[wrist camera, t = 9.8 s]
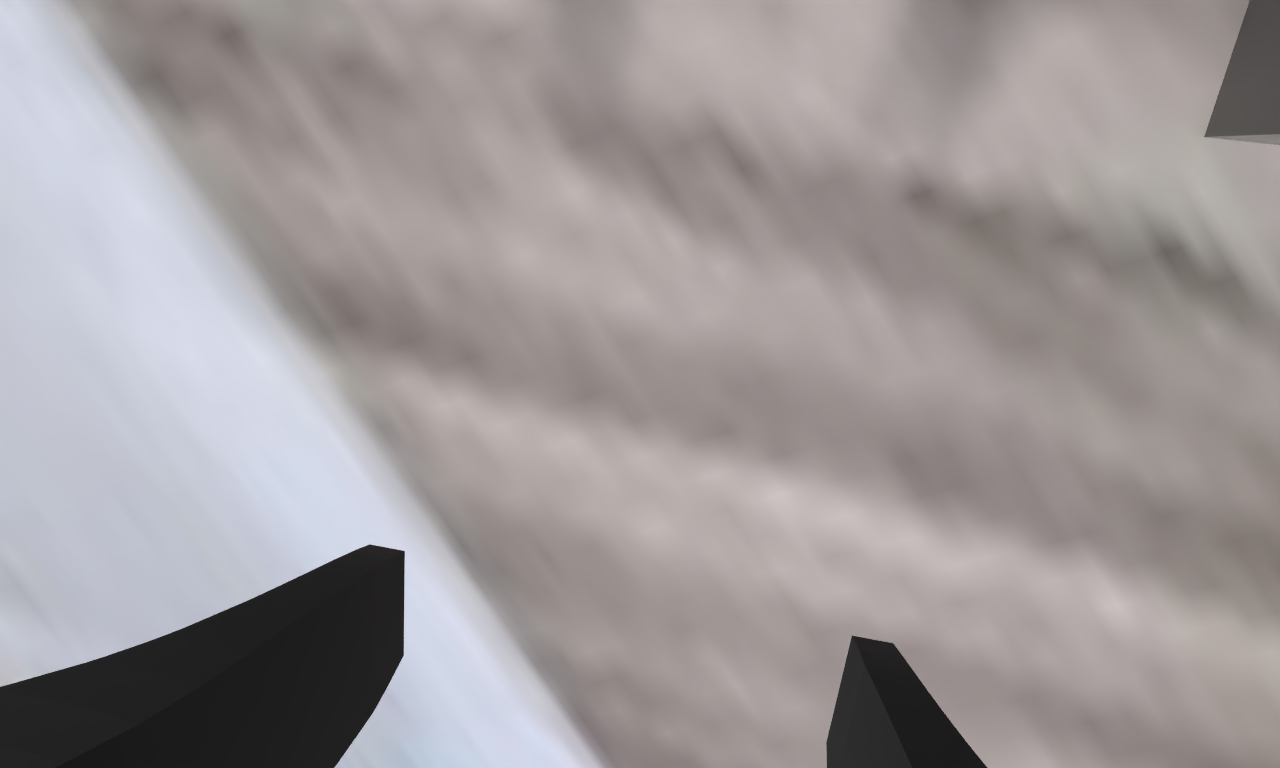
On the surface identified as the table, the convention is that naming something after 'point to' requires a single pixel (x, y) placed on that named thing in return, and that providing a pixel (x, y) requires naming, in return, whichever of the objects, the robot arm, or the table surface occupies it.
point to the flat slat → (1252, 80)
